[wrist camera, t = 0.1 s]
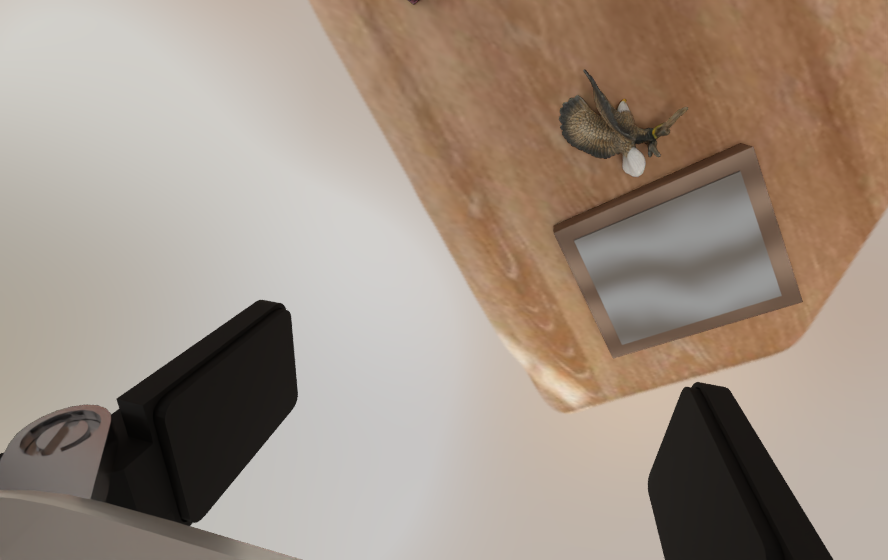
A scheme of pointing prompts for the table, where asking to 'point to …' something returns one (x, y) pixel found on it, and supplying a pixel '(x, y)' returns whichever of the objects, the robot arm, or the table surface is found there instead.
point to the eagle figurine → (610, 130)
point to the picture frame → (681, 254)
